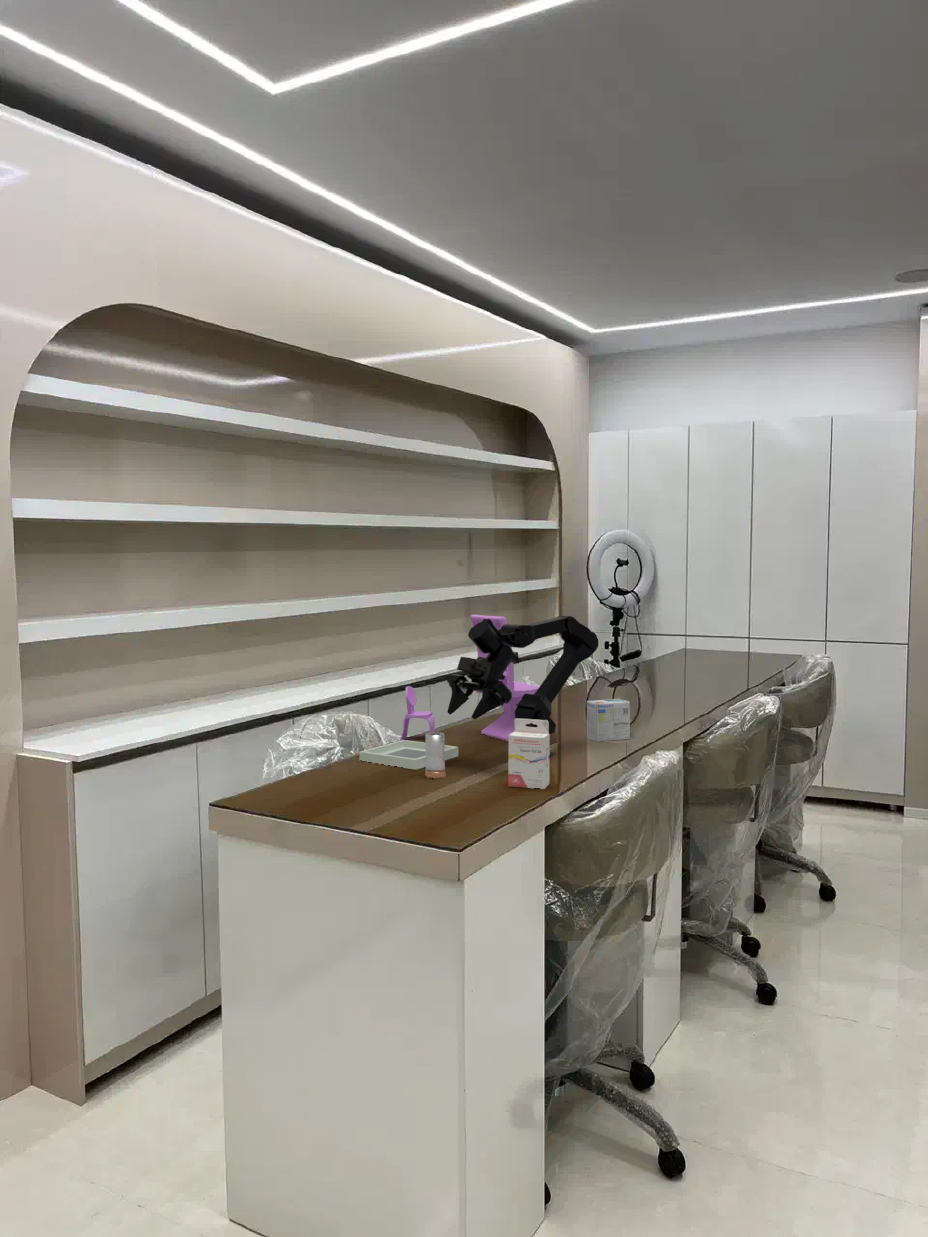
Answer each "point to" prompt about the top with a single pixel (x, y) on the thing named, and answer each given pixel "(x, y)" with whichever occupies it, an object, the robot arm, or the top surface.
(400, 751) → the sage tray
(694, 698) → the top surface
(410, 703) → the toy chair
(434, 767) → the metal sleeve
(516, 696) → the earring display
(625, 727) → the light bulb box
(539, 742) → the ink cartridge box
